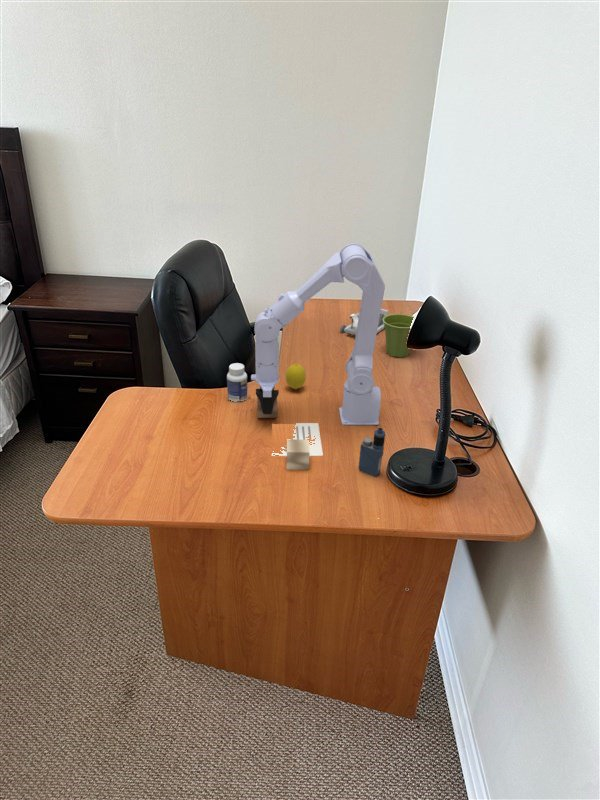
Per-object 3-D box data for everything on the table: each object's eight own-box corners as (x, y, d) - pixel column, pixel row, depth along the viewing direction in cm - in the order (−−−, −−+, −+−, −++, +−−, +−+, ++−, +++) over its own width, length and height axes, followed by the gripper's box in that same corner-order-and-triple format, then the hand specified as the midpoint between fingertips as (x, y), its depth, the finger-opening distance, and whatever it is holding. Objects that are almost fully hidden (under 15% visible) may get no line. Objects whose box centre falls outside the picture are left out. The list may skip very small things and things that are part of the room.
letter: (318, 423, 143) (318, 423, 143) (322, 456, 131) (322, 455, 131) (271, 423, 142) (271, 423, 142) (271, 456, 130) (271, 455, 130)
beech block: (308, 457, 130) (308, 439, 128) (308, 470, 126) (309, 452, 124) (286, 457, 130) (287, 439, 128) (286, 470, 126) (286, 452, 123)
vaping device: (377, 478, 124) (383, 433, 118) (356, 470, 126) (360, 425, 120) (382, 472, 126) (388, 428, 120) (361, 464, 128) (366, 420, 122)
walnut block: (276, 407, 147) (276, 391, 145) (277, 417, 143) (277, 400, 141) (257, 407, 147) (257, 391, 145) (257, 417, 143) (257, 400, 140)
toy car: (368, 318, 181) (337, 309, 187) (365, 345, 186) (335, 336, 191) (392, 302, 194) (363, 295, 200) (389, 328, 199) (360, 320, 205)
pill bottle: (244, 404, 150) (243, 372, 145) (225, 401, 151) (223, 369, 146) (249, 394, 155) (249, 363, 150) (231, 392, 156) (230, 360, 151)
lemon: (282, 391, 157) (282, 365, 153) (290, 383, 161) (290, 357, 157) (300, 395, 155) (301, 369, 151) (308, 386, 159) (309, 361, 155)
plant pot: (421, 351, 182) (426, 318, 177) (407, 364, 174) (411, 330, 168) (388, 342, 188) (392, 310, 182) (372, 354, 179) (376, 321, 173)
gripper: (251, 347, 144) (252, 393, 150) (250, 374, 131) (251, 423, 138) (279, 347, 144) (278, 393, 151) (280, 374, 131) (279, 422, 138)
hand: (267, 407), depth 144 cm, fingers closed on walnut block, 5 cm apart
